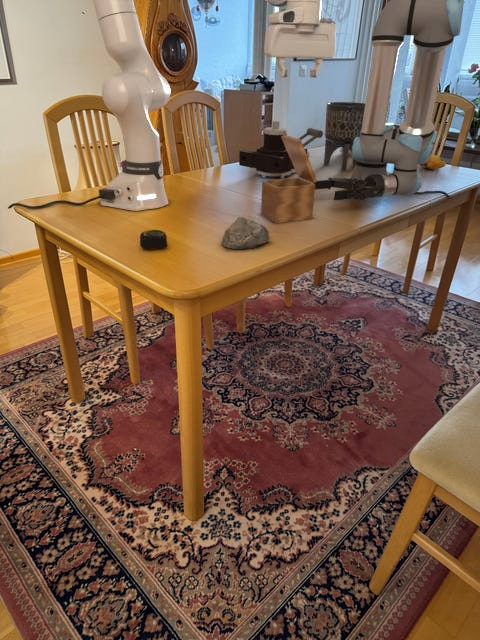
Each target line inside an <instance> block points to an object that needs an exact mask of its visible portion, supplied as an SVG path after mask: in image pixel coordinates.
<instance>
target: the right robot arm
mask: <svg viewBox="0 0 480 640" xmlns="http://www.w3.org/2000/svg"><path fill="white" fill-rule="evenodd" d="M464 4H465V0H388V2H387V3H385V6H384V7H383V9H382V10H381V12H380V14H379V15H378V17H377V20H376V22H375V25H374V27H373V30H372V35H371V45H372V47H373V50H372V57H371V63H370V70H369V77H368V83H367V84H368V85H367V91H366V95H365V96H366V97H365V102H364V103H365V110H364V116H363V123H362V129H361V132H360V137H356V138H355V139H354V141H353V146H352V155H351V159H352V158H353V159H354V160H356V165H355V166H354V167H353V171H351V174H350V175H349V178H344V177H343V178H342V177H341V178H340V177H328V178H327V179H321V180H317V182H315V183H313V184H315V191H316V190H327V189H328V190H331V189H332V188H333V189H334V188H335V189H342V190H334V197H333V200H334V201H343V200H353V199H354V200H359V201H365V200H368V199H374V198H386V197H387V198H388V197H393V196H408V195H413V194H414V195H419V196H420V195H425V194H440V195H444V196H445V197H446V198H448V199H450V198H451V196H450V195H449V194H448V193H447V192H446V191H443V190H425V191H419V190H420V189H421V188H422V185H423V181H422V175H421V173H420V172H418V171H417V170H418V165H419V164H425V163H426V162H427V161H428V159H429V157H430V155H432V152H433V149H434V146H435V144H436V140H437V136H438V131H437V130H436V129H435V124H434V123H433V122H432V117H433V113H434V108H435V103H436V99H437V95H438V89H439V85H440V79H441V75H442V70H443V67H444V66H443V65H444V61H445V55H446V52H447V48H448V47H449V46H451V45H452V44H453V42H454V38H455V37H457V36H459V35H461V30H462V22H463V14H464ZM405 36H412V37H413V39H412V44H413V45H414V46H415V47H416V51H415V55H414V56H415V57H414V63H413V68H412V69H413V70H412V74H411V75H412V76H411V81H410V87H409V93H408V99H407V105H406V107H407V108H406V112H405V117H404V120H403V121H401V123H400V124H399V127H395V123H393V122H387V120H388V119H387V118H388V113H389V107H390V103H391V102H390V101H391V95H392V90H393V85H394V78H395V73H396V67H397V61H398V55H399V50H400V47H401V46H402V45H403V44H404V40H405ZM353 159H352V160H353ZM388 164H390V165H393V171H392V172H390V171H387V166H388Z"/></svg>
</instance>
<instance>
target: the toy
mask: <svg viewBox="0 0 480 640" xmlns="http://www.w3.org/2000/svg"><path fill="white" fill-rule="evenodd" d="M418 165H419V166H420V167H425V168H427V169H429V170H432V171H433V170H434V171H435V170H438V169H443V168H444V167H446V166H447V162H446V161H444V160H442V159H441V158H440V156H439V155H435V154H431V155H430V157H429V159H428V161H427V162H426V163H425V164H418Z"/></svg>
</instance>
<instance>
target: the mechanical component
mask: <svg viewBox="0 0 480 640" xmlns="http://www.w3.org/2000/svg"><path fill="white" fill-rule="evenodd" d="M283 135H287V136H288V129H287V128H286V127H280V121H279V120H272V126H271V127H265V128H264V129H263V145H262V146H258V147H257V148H256V151H250V150H245V149H241V150H239V153H238V154H239V155H238V157H239V159H238V166H240V167H245V168H250V169H255V173H256V174H257V175H261V177H262V178H267V177H279V179H285V176H291V175H292V173H296V171H295V168H294V166H293V164H292V161H291V159H290V157H289V154H288V152H287V150H286V147H285V145H284V143H283V140H282V138H281V137H282V136H283ZM304 149H305V151H306V154H307V156H308V159H309V158H310V156H311V154H310V152H309V151H308V148H306V147H304ZM296 174H297V173H296Z"/></svg>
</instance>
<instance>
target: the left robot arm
mask: <svg viewBox="0 0 480 640" xmlns="http://www.w3.org/2000/svg"><path fill="white" fill-rule="evenodd" d="M264 1H265V2H267V3H269V5H271V6H273V7H276V8H282V9H281V10H278V11H276V12H274V13H271V14H268V19H267V21H268V24H269V26H267V28H266V31H265V36H264V44H263V45H264V46H263V53H264V55H265V57H266V58H276V65H277V67H278V70H279V77H280V78H288V72H289V70H288V69H285V65H284V63H286V62H285V61H286V58H290V59H313V63H314V66H313V68H312V69H310V70H309V77H310V78H315V79H316V78H318V77H319V75H318V74H319V70H320V68H321V66H322V65H323V63H324V62H323V60H324V59H328V60H329V59H330V60H331V59H333V58H334V57H335V55H336V51H337V50H336V49H337V48H336V46H337V37H336V34H337V24H336V21H334V19H333V18H325V17H324V18H323V17H321V13H322V12H321V11H322V0H264ZM93 5H94V9H95V14H96V18H97V21H98V25H99V28H100V33H101V36H102V39H103V42H104V46H105V49H106V52H107V55H109V57H111V59H113V60H114V62H116V63H117V65H118V66H119V68H120V70H121V72H118V73H115V74H112V75H111V76H108V77H107V78H105V80H104V81H103V83H102V85H101V98H102V101H103V103H104V105H105V106H106V108H107V109H108V110H109V111H110V112H111V113H112V114H113V115H114V116H115V119H116V121H117V122H118V125H119V128H120V130H121V135H122V139H123V146H124V153H125V159H124V160H122V161H121V162H119V163H118V165H119V166H118V167H119V168H121V172H120V173H119V174H117V175H116V176H115V177H114V178H113V179H112V180H111V181H109V182H108V184H107V185H106V188H105V187H103V188H100V189H98V196H94V197H92V198H89V199H87V200H85V201H82V202H73V201H70V200H64V199H63V200H61V199H59V200H53V201H49V202H47V203H44V204H40V205H28V204H23V203H19V202H14V203H11V204H9V205H8V207H7V209H8V210H10V209H12V208H13V207H17V206H18V207H22V208H25V209H30V210H36V209H43V208H46V207H49V206H52V205H55V204H69V205H72V206H83V205H87V204H88V203H91V202H94V201H96V200H100V206H104V207H111V208H117V209H121V210H129V211H134V212H139V211H143V210H151V209H159V208H163V207H165V206H167V205H169V200H168V196H167V193H166V190H165V189H166V188H165V185H164V166H163V159H162V158H161V157H162V156H161V155H162V154H161V143H160V141H161V140H160V134H159V132H158V131H157V130H156V128H154V126H153V125H152V123H151V120H150V117H149V112H156V111H158V110H160V109H162V108H163V107H165V106H166V105H167V104H168V103H169V101H170V100H171V99H170V98H171V87H170V84H169V82H168V80H167V79H166V78H165V77H164V76H163V75H162V73H160V71H159V69H158V68H157V67H156V65H155V63H154V61H153V59H152V57H151V55H150V53H149V51H148V49H147V46H146V43H145V40H144V36H143V33H142V29H141V26H140V25H141V24H140V21H139V17H138V14H137V10H136V6H135V3H134V0H93ZM283 7H286V8H285V9H283Z"/></svg>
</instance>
